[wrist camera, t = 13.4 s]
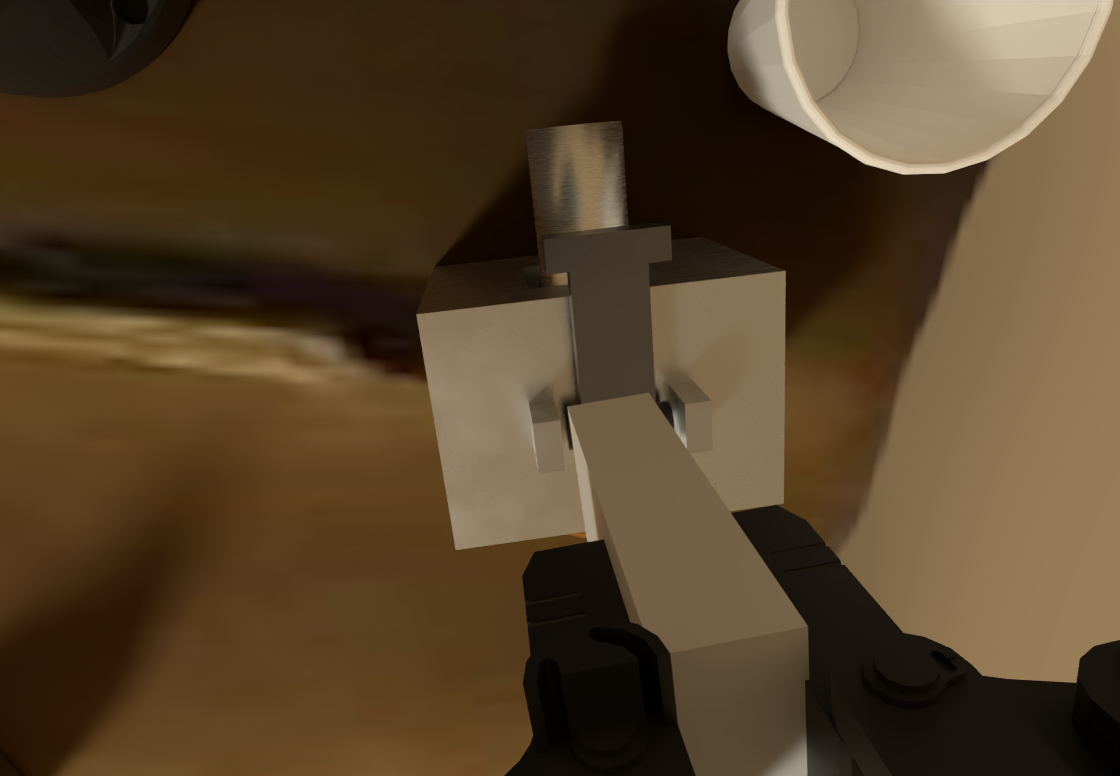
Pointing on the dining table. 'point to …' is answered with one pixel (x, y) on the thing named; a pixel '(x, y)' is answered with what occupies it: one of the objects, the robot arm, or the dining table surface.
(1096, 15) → the cup
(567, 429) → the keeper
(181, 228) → the dining table surface
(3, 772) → the beer bottle
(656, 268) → the hitch block
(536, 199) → the pin
